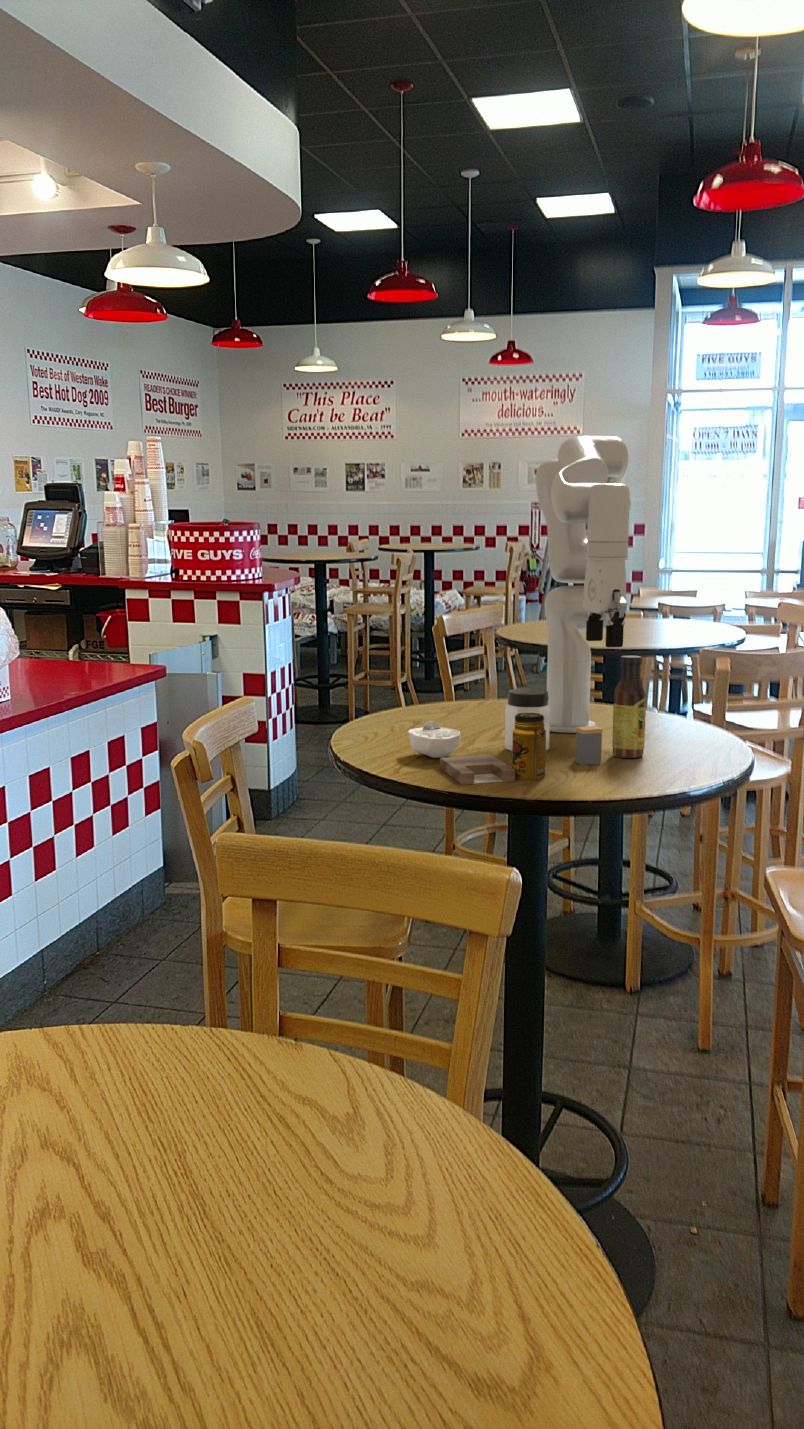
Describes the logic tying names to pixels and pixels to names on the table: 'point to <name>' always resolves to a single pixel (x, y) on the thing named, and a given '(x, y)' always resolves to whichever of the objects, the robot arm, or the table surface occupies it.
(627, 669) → the sauce bottle
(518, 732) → the condiment
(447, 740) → the cell model
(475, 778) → the notched board
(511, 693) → the jar
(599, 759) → the grey and orange block
